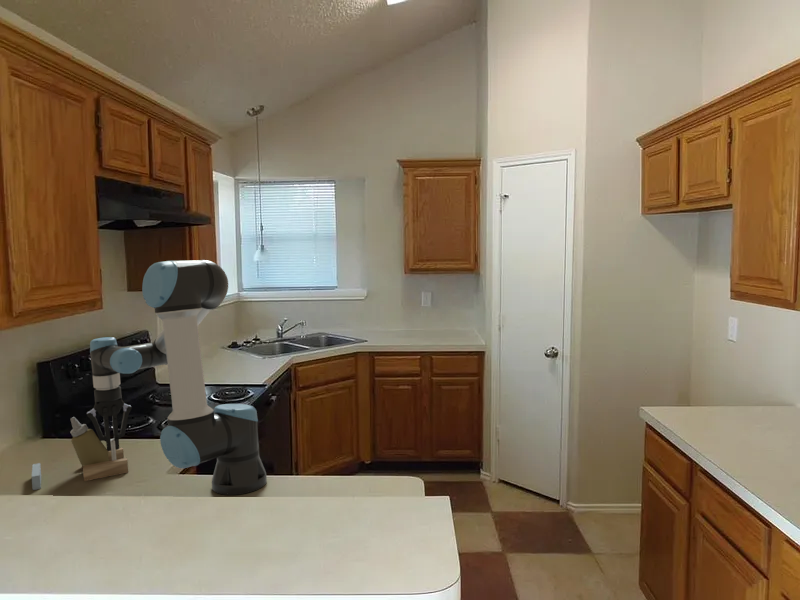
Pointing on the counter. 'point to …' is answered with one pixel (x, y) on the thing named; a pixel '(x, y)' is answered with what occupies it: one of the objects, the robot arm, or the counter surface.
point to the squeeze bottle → (87, 444)
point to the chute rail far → (118, 454)
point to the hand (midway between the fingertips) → (114, 459)
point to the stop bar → (36, 476)
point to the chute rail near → (105, 469)
